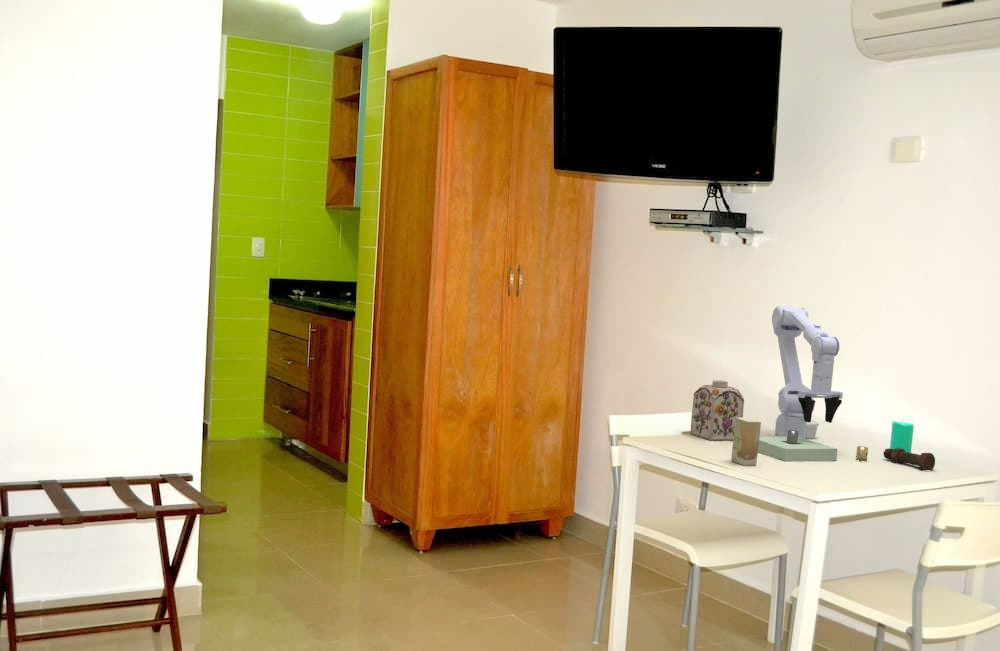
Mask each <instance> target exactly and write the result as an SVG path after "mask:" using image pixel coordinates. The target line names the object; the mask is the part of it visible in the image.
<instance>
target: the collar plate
mask: <svg viewBox="0 0 1000 651" xmlns="http://www.w3.org/2000/svg"><path fill="white" fill-rule="evenodd" d="M758 453H760V454H763V455H765V456H768V457H770V458H774V459H776V460H777V459H778V460H780V461H783V462H831V461H832V462H836V461H837V458H838V448H836V447H834V446H831V445H830V446H829V445H825V444H822V443H819V442H816V441H813V440H811V439H803V438H800V437H798V442H797V444H788V443H787V437H775V436H759V446H758ZM834 460H835V461H834Z"/></svg>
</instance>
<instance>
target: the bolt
mask: <svg viewBox="0 0 1000 651" xmlns="http://www.w3.org/2000/svg"><path fill="white" fill-rule="evenodd" d="M883 457H884V459H887V460H890V461H892V462H893V463H894V462H895V463H894V464H908V465H913V466H917V467H919V470H920V469H921V470H920V471H923V470H931V471H933V469H934V468H935V465H936V458H935V455H934V454H933V453H932V452H921V454H918V453H913V452H911V453H909V452H906V451H905V450H904V449H902V448H895V449H890V448H885V449H884V451H883Z"/></svg>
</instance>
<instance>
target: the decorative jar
mask: <svg viewBox="0 0 1000 651" xmlns="http://www.w3.org/2000/svg"><path fill="white" fill-rule="evenodd" d="M728 383H729V382H728V381H727V380H722V379H721V380H717V379H715V380H714V379H713V380H712V384H704V385H701V386H700V387H699V388H698V389H697V390H695V391H694V393H693V397H692V398H693V399H692V409H691V418H690V434H691V435H694V436H697V437H699V438H703V439H705V440H708V441H733V438H734V429H735V420H736V418H739V417H740V418H744V416H743V415H744V408H745V407H744V405H745V398H744V396H743V394H741V391H740V390H739V388H736V387H732V386H729V384H728Z"/></svg>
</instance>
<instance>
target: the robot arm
mask: <svg viewBox="0 0 1000 651" xmlns="http://www.w3.org/2000/svg"><path fill="white" fill-rule="evenodd" d="M771 315H772V316H771V323H772V328H773V333H774V335H775V336H777V341H778V348H779V349H778V350H779V353H780V354H779V355H780V360H781V361H780V362H781V367H782V371H783V372H782V373H783V377H784V378H783V379H784V383H785V386H784V387H782V388H781V389H780V390H779V391H778V401H777V404H778V409H779V411H780V414H778V416H776V420H775V430H774V437H787V434H788V430H795V431H798V437H800V438H803V439H805V436H806V425H807V422H811V420H812V415H813V413H814V411H815V404H816V400H815V399H823V400H824V405H825V406H824V407H825V414H824V420H825V422H826V423H833V420H834V417H835V414H836V412H837V411H838V409H839V407H840V406H841V404H842V403H843V401H842V399H843V395H844V394H843V393H844V392H842V391H835V390H834V391H833V390H832V386H833V385H832V384H833V374H834V363H835V357H837V355H838V354H839V351H840V342H839V339H838V338H837V336H830V335H829V334H828V333H827V332H826V331H825V330H824V329H823V328H822V327H821V325H820V324H816V323H813V322H812V321H811V320H810V318H809V312H808V310H807V309H806V308H805V307H791V306H790V307H789V306H781V305H777V306H775V308H774V310H773V311H772V314H771ZM802 333H803V335H802V336H803V338H804V339H805V341H806V342H807V343H808V344H809V345H810V350H811V354H812V355H811V359H812V361H813V364H812V372H811V373H812V376H811V384H810V388H809V387H807V386H806V385H805V384H803V379H802V375H801V368H800V364H799V363H800V362H799V358H798V350H797V346H796V340H795V339H796V338H797V337H800V336H801V334H802ZM814 398H815V399H814Z"/></svg>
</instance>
